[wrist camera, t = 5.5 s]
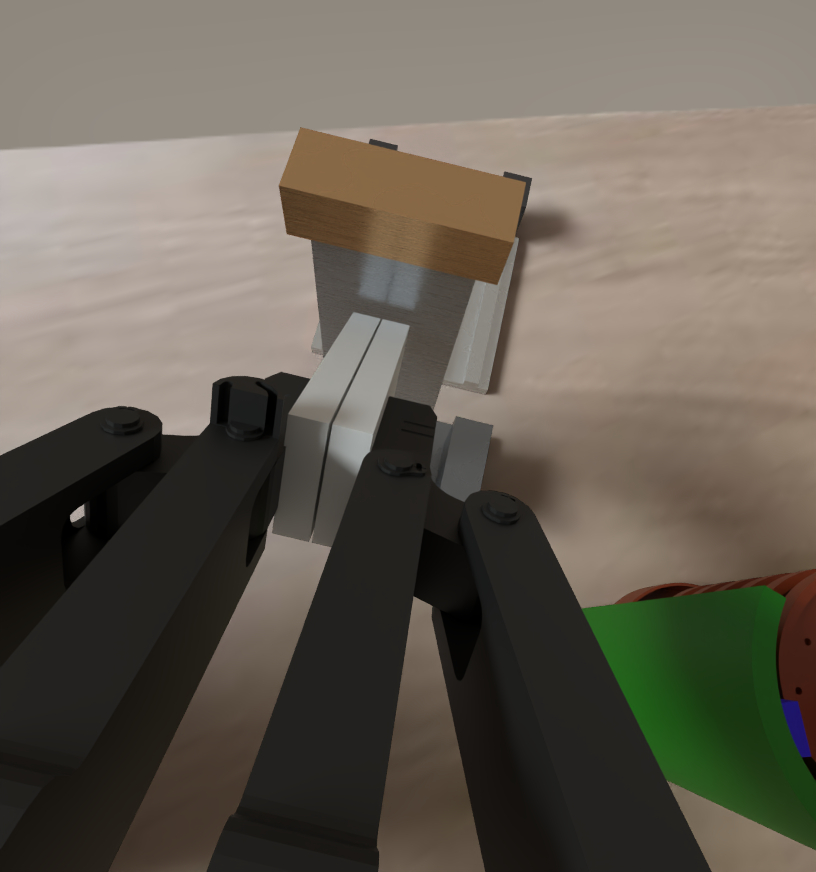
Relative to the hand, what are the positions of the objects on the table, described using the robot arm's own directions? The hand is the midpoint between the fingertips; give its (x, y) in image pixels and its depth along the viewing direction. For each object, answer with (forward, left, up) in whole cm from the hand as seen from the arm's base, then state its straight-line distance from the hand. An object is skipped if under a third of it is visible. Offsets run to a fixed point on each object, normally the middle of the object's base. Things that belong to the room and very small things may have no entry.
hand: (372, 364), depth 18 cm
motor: (-17, +6, -17) cm, 25 cm away
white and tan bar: (0, -1, -15) cm, 15 cm away
